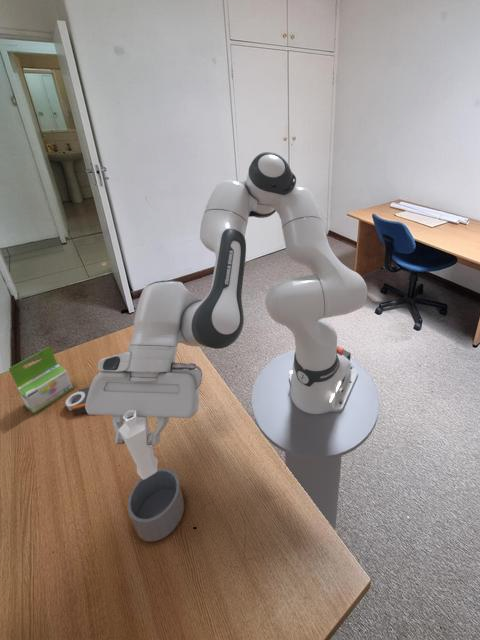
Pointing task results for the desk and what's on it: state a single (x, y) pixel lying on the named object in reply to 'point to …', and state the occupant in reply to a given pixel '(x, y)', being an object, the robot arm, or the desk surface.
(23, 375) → the ink box
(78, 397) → the electronic device
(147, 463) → the perfume bottle
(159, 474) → the short grey cup
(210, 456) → the desk surface
